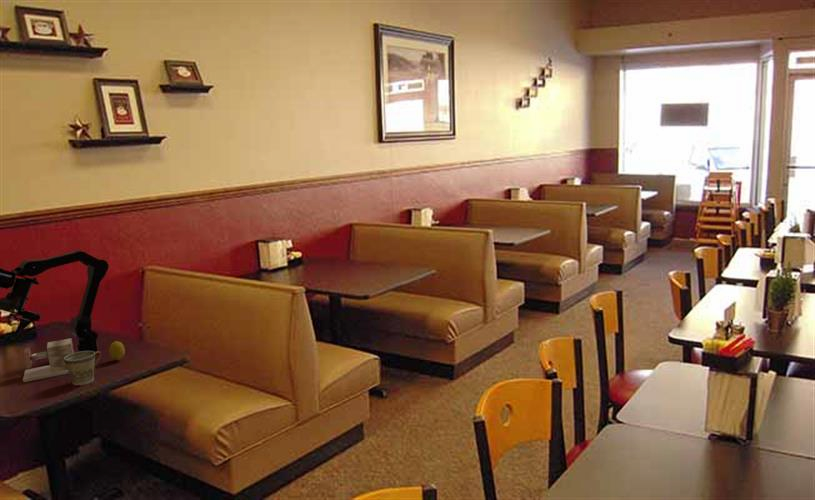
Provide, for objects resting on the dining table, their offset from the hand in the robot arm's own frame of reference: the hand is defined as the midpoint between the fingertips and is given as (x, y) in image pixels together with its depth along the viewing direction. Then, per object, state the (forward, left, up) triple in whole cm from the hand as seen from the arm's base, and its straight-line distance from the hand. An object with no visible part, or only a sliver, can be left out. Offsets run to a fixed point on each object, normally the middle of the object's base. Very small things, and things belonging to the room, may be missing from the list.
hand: (3, 333), depth 241 cm
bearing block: (-18, +5, -17) cm, 25 cm away
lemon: (-37, +7, -17) cm, 41 cm away
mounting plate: (-14, +5, -17) cm, 22 cm away
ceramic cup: (-26, +24, -17) cm, 39 cm away
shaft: (-11, +5, -13) cm, 17 cm away
